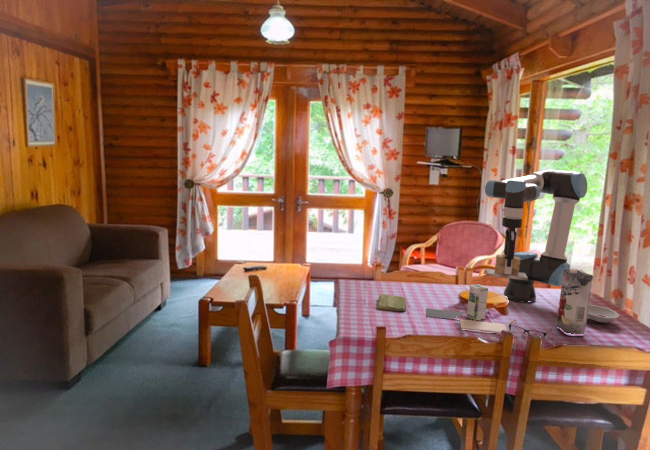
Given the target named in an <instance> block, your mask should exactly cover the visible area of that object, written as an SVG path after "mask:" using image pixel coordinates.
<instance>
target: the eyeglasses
mask: <svg viewBox="0 0 650 450" xmlns="http://www.w3.org/2000/svg"><path fill="white" fill-rule="evenodd" d="M514 322H515V323H517V320H516V319H513V320H512V321H511V322H510V323H509V324H508V328H509V329H508V330H509V331H510V330H511V329H512V327H515V328H518V329H521V330H523V334H525V333H527V335H528V334H529V335H530V333H529V332H537V333H542V334H543V335H542V336H543V337H544V338H545V337H546V336H547V335H548V333H549V331H551V329H552V327H549V328H548V330H547V331H546V332H543V331H539V330H536V329H535V330H534V329H533V330H532V329H529V330H528V329H525V328H523V327H521V326H517V325H513V323H514ZM511 331H512V330H511ZM543 337H542V338H543Z"/></svg>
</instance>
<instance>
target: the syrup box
mask: <svg viewBox="0 0 650 450" xmlns="http://www.w3.org/2000/svg"><path fill="white" fill-rule="evenodd" d="M488 292H489V287H487V286H484V285H481V284H477V283H476V284H471V285H469V291H468V300H467V309H466V318H468V317H469V319H470V318H471V319H470V320H472V319H473V320H472V321H474V320H478V321H480V320H479V319H486V313H487V305H488V304H487V303H488V302H487V301H488V294H489V293H488Z"/></svg>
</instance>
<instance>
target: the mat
mask: <svg viewBox="0 0 650 450" xmlns="http://www.w3.org/2000/svg"><path fill="white" fill-rule="evenodd" d="M425 314H426V315H425V316H426V317H425V318H432V317H434V319H435V318H436V319H441V318H444V319H443V320H450V319H454V318H456V316H457V318H459V317H460V316H462V314H464V311H463V312H462V311H455V310H454V311H453V310H447V309H446V310H445V309H436V308H426V313H425ZM457 318H456V319H457Z"/></svg>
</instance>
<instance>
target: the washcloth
mask: <svg viewBox="0 0 650 450" xmlns="http://www.w3.org/2000/svg"><path fill="white" fill-rule="evenodd" d="M376 307H377V310H381V311H396V312H403V313H405V312H407V299H406V297H405V296H402V295H401V296H400V295H393V294H392V295H390V294H386V293H385V294H384V293H381V294H380V296H379V298H378V303H377V306H376Z"/></svg>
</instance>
